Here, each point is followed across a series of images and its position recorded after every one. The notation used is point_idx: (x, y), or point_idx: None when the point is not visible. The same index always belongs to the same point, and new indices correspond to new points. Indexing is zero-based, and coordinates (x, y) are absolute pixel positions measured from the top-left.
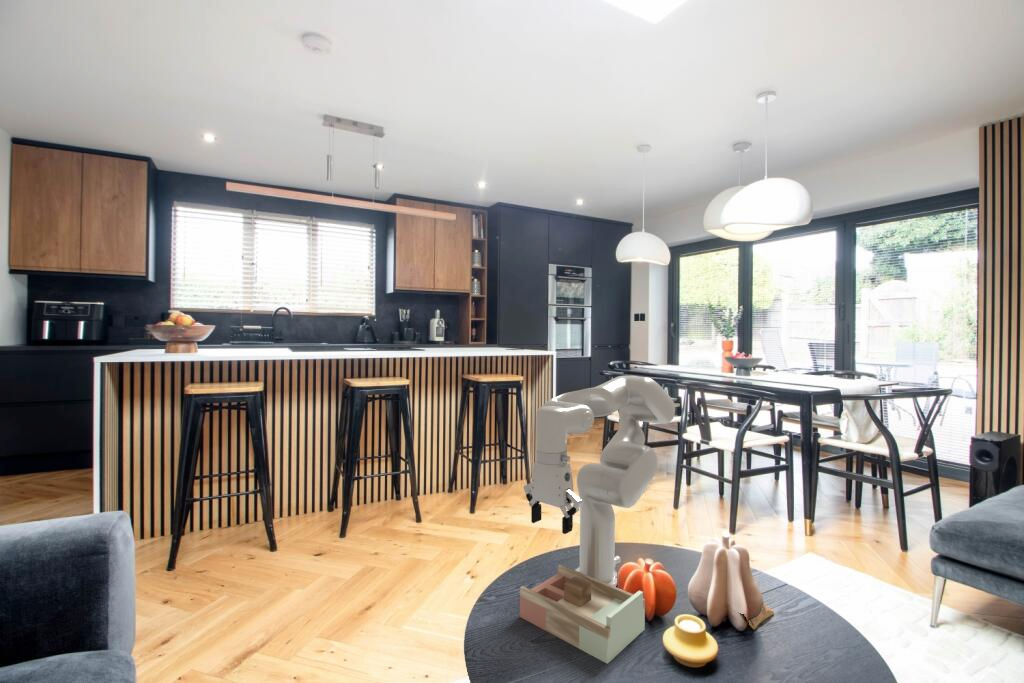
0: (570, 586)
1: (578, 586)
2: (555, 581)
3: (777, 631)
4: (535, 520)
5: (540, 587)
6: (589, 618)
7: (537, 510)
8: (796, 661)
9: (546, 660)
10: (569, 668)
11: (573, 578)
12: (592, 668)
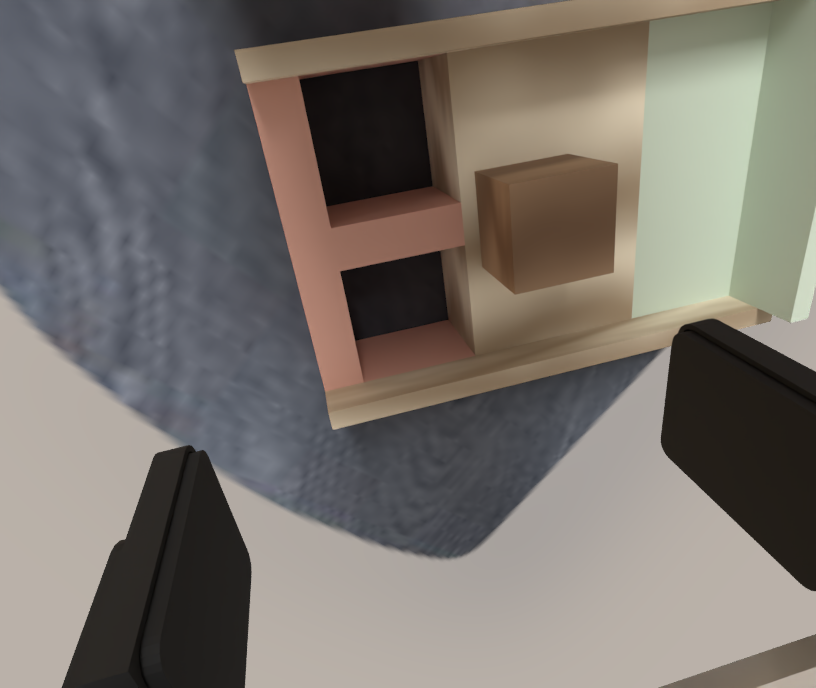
0: (552, 284)
1: (588, 255)
2: (319, 176)
3: None
4: (239, 558)
5: (324, 288)
6: None
7: (212, 658)
8: None
9: (546, 411)
10: (610, 379)
11: (517, 215)
12: None
